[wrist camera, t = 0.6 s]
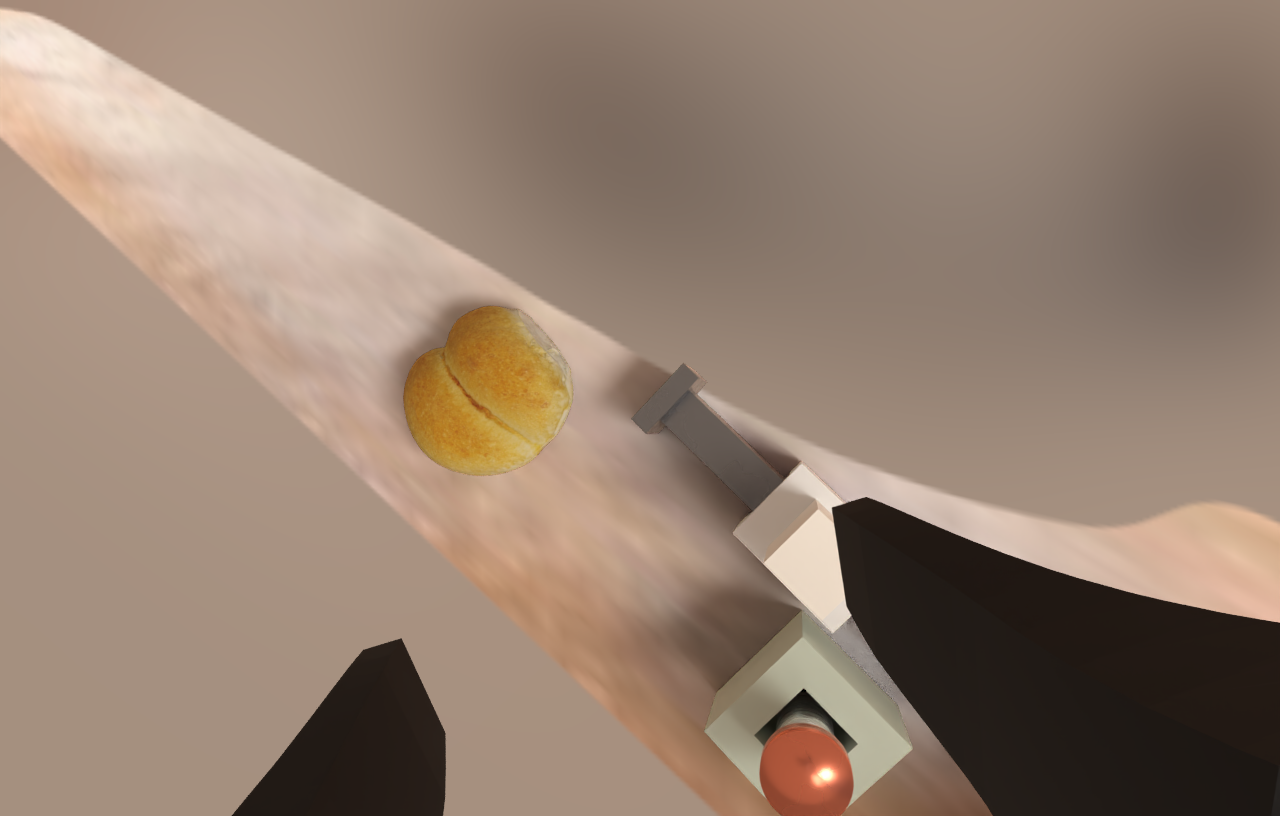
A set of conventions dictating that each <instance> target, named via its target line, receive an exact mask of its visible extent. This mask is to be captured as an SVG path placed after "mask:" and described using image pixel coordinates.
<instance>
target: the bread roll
mask: <svg viewBox="0 0 1280 816" xmlns="http://www.w3.org/2000/svg"><path fill="white" fill-rule="evenodd" d="M403 399H404V409H405V414H406V419H407V423H408V426H409V429H410V431H411V433H412V436H413V438H414V439H415V441H416V442H417V444H418V446H419V447H420V449H421V450H422V451H423V452H424V453H425V454H426V455H427V456H428V457H429V458H430V459H431V460H433V461H434V462H436V463H437V464H439V465H441V466H443V467H445V468H447V469H449V470H452V471H455V472H459V473H463V474H467V475H476V476H485V475H498V474H502V473H506V472H509V471H512V470H515V469H517V468H520V467H522V466H524V465H526V464H527V463H529V462H530V461H532V460H533V459H534V458H535V457H536V456H537V455H538V454H539V452H540V451H541V450H542V449H543V447H545V446H546V445H547V444H548V443H549V442H550V441H552V440H553V439H554V438H555V436H556V435H557V434H558V433H559V431H560V429H561V428H562V426H563V424H564V422H565V420H566V418H567V416H568V413H569V410H570V407H571V404H572V401H573V384H572V378H571V370H570V367H569V366H568V364H567V362H566V361H565V359H564V358H563V356H562V355H561V353H560V352H559V350H558V348H557V347H556V345H555V344H554V343H553V342H552V341H551V340H550V339H549V338H548V336H547V335H546V334H545V333H544V332H543V330H542V329H541V328H539V327H538V325H537V324H536V323H534V321H533V320H532V318H531V317H529V316H528V315H526V314H525V313H524V312H523V311H522V310H520V309H506V308H502V307H498V306H486V307H481V308H479V309H476V310H473V311H471V312H469V313H467V314H465V315H464V316H462V317H461V318H459V319H458V320H457V321H456V323H455V324H454V325H453V327H452V329H451V331H450V333H449V337H448V340H447V343H446V346H445V347H442V348H436V349H433V350H430V351H429V352H427V353H425V354H423V355H422V356H421V357H419V358H418V359H417V361H416V362H415V363H414V365H413V366H412V368H411V370H410V372H409V374H408V377H407V380H406V384H405V388H404V396H403Z"/></svg>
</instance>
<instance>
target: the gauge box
mask: <svg viewBox="0 0 1280 816" xmlns="http://www.w3.org/2000/svg"><path fill="white" fill-rule="evenodd" d="M803 688H804V689H805V690H806V691H807V692H808V693H809V694H810V695H811V696H812V697H813V698H814V699H815V700H816V701H817V702H818V703H819V704H820V705H821V706H822V707H823V708H824V709H825V710H826V711H827V712H828V714H829V715H830V716H831V717H832V721H833V730H834V736H835V737H836V738H837V739H838V740H839V741H840V742H841V744H842V745H843V746H844V748H845V750H846V752H847V754H848V756H849V759H850V762H851V767H852V773H853V781H854V788H853V794H852V798H851V801H850V803H849V805H848V807H849V806H850V805H851V804H852V803H853V802H854V801H855V800H857V799H858V798H859V797H860V796H861V795H862V794H863V793H864V792H865V791H867V790H868V789H869V788H870V787H871V786H872V785H873V784H874V783H875V782H877V781H878V780H879V779H880V778H881V777H882V776H883V775H884V774H885V773H887V772H888V771H889V770H890V769H891V768H892V767H893V766H894V765H895V764H897V763H898V762H899V761H900V760H901V759H902V758H903V757H904V756H905V755H907V754H908V753H909V752H910V751H911V750H912V749H913V747H912V744H911V741H910V739H909V736H908V733H907V730H906V728H905V725H904V722H903V719H902V716H901V714H900V711H899V708H898V705H897V704H896V703H895V702H894V701H893V700H892V699H891V698H890V697H889V696H888V695H887V694H886V693H885V692H884V691H883V690H882V689H881V688H880V687H879V686H878V685H877V684H876V683H875V682H874V681H873V680H872V679H871V678H870V677H869V676H868V675H867V674H866V673H865V672H864V671H863V670H862V669H861V668H860V667H859V666H858V665H857V664H856V663H855V662H854V661H853V660H852V659H851V658H850V657H849V656H848V655H847V654H846V653H845V652H844V651H843V650H842V649H841V648H840V647H839V646H838V645H837V644H836V643H835V642H834V641H833V640H832V639H831V638H830V637H829V636H828V635H827V634H826V633H825V632H824V631H823V630H822V629H821V628H820V627H819V626H818V625H817V624H816V623H815V622H814V621H813V620H812V619H811V618H810V617H809V616H808V615H807V614H806V613H805V612H804V611H803V610H801V611H800V612H799V613H798V614H797V615H796V616H795V617H794V618H793V619H792V620H791V621H790V622H789V623H788V624H787V625H786V626H785V627H784V628H783V629H782V630H781V631H780V632H779V633H777V634H776V635H775V636H774V637H773V638H772V639H771V640H770V641H769V642H768V643H767V644H766V645H765V646H764V647H763V648H762V649H761V650H760V651H759V652H758V653H757V654H756V655H755V656H754V657H753V658H752V659H751V660H750V661H748V662H747V663H746V664H745V665H744V666H743V667H742V668H741V669H740V670H739V671H738V672H737V673H736V674H735V675H734V676H733V677H732V678H731V679H730V680H729V681H728V682H727V683H726V684H725V685H724V686H723V687H722V688H721V689H719V690H718V691H717V692H716V695H715V698H714V701H713V704H712V707H711V711H710V714H709V717H708V720H707V723H706V726H705V730H704V732H705V733H706V734H707V735H708V736H709V737H710V738H711V739H712V741H713V742H714V743H715V744H716V745H717V746H718V747H719V748H720V749H721V750H722V751H723V752H724V754H725V755H726V756H727V757H728V758H729V759H730V760H731V761H732V762H733V763H734V764H735V766H736V767H737V768H738V769H739V770H740V771H741V772H742V773H743V774H744V775H745V776H746V777H747V779H748V780H749V781H750V782H751V783H752V784H753V785H754V786H755V787H756V788H757V789H758V790H759V792H760V793H761V794H762V795H763V796H764V797H765V795H764V793H763V790H762V787H761V783H760V776H759V771H760V761H761V754H762V750H763V747H764V745H765V743H766V741H767V740H768V739H769V737H770V736H771V735H772V734H773V733H774V732H775V731H776V726H777V713H778V712H779V711H780V710H781V709H782V708H783V707H784V706H785V705H786V704H787V703H789V702H790V701H791V700H792V699H793V698H794V697H795V696H796V695H797V694H798V693H799V692H800V691H801V690H802V689H803ZM765 798H766V797H765ZM848 807H847V808H848ZM847 808H846V809H847Z"/></svg>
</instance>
